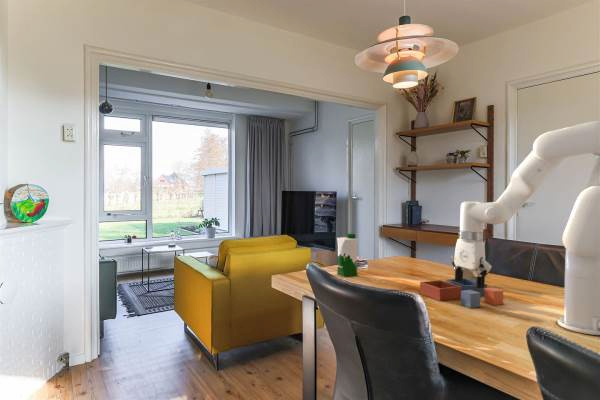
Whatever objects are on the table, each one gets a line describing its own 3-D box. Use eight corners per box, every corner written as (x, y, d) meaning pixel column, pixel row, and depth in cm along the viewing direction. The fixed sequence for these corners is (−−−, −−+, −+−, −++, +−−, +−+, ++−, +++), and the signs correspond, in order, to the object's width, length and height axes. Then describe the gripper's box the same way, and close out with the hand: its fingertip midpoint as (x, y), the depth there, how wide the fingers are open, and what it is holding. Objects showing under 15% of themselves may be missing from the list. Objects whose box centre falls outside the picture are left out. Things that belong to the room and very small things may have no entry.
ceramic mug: (455, 283, 163) (456, 266, 162) (454, 279, 170) (455, 263, 170) (481, 286, 159) (482, 268, 159) (480, 282, 166) (480, 265, 166)
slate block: (480, 306, 128) (480, 292, 128) (470, 308, 126) (470, 293, 126) (470, 303, 132) (470, 289, 132) (460, 304, 130) (461, 290, 130)
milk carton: (359, 275, 176) (360, 234, 176) (343, 277, 172) (344, 235, 172) (349, 272, 184) (350, 232, 184) (334, 273, 180) (334, 233, 180)
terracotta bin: (461, 298, 138) (461, 286, 138) (439, 300, 135) (440, 288, 135) (440, 291, 149) (440, 280, 149) (419, 293, 145) (420, 281, 145)
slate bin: (487, 295, 143) (487, 284, 143) (466, 297, 139) (467, 286, 139) (464, 288, 153) (465, 278, 153) (445, 290, 150) (445, 279, 150)
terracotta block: (503, 304, 132) (503, 290, 132) (494, 305, 130) (494, 291, 130) (492, 300, 136) (493, 287, 136) (484, 301, 134) (484, 288, 134)
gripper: (444, 233, 136) (443, 279, 136) (483, 239, 120) (480, 291, 120) (460, 233, 138) (458, 277, 139) (499, 239, 122) (497, 289, 123)
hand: (469, 284), depth 129 cm, fingers open, 9 cm apart
